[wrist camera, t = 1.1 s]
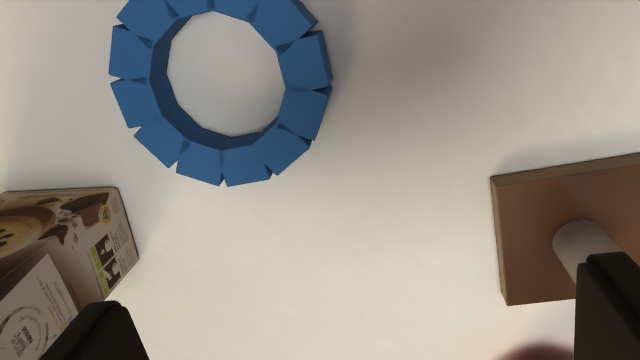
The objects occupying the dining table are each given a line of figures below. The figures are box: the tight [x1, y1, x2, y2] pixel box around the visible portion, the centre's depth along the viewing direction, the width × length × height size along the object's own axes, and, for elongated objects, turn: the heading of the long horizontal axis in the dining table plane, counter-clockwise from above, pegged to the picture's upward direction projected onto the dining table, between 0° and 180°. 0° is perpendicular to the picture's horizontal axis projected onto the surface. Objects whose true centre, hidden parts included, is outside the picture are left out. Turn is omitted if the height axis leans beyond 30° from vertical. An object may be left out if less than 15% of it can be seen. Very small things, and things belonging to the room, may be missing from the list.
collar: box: [109, 0, 332, 187], centre depth 27 cm, size 12×12×2 cm
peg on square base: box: [490, 153, 640, 306], centre depth 25 cm, size 9×9×10 cm
